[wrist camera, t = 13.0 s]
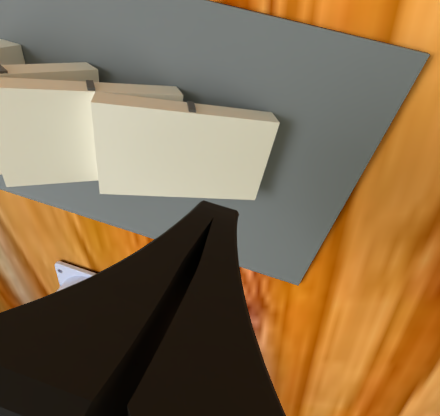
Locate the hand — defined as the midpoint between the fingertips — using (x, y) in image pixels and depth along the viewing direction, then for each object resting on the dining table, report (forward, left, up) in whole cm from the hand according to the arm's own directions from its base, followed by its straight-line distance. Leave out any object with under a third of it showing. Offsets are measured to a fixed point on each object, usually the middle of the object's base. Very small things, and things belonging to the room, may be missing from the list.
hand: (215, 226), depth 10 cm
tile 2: (0, +4, -6) cm, 7 cm away
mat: (-1, +11, -7) cm, 13 cm away
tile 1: (0, -1, -6) cm, 6 cm away
